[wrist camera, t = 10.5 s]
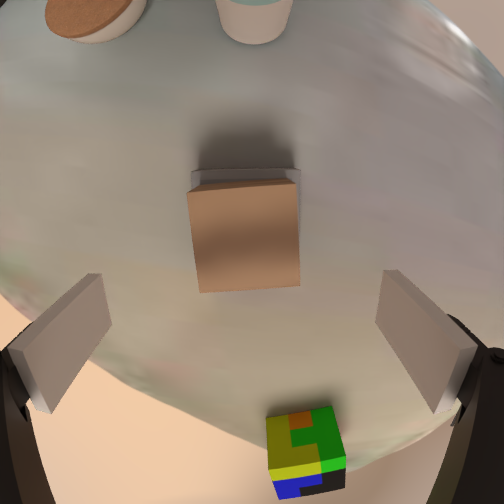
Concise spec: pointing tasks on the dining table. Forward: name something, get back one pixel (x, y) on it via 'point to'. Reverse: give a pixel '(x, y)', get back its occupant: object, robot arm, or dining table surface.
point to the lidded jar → (92, 18)
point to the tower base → (247, 177)
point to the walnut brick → (245, 235)
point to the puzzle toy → (305, 453)
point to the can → (253, 19)
